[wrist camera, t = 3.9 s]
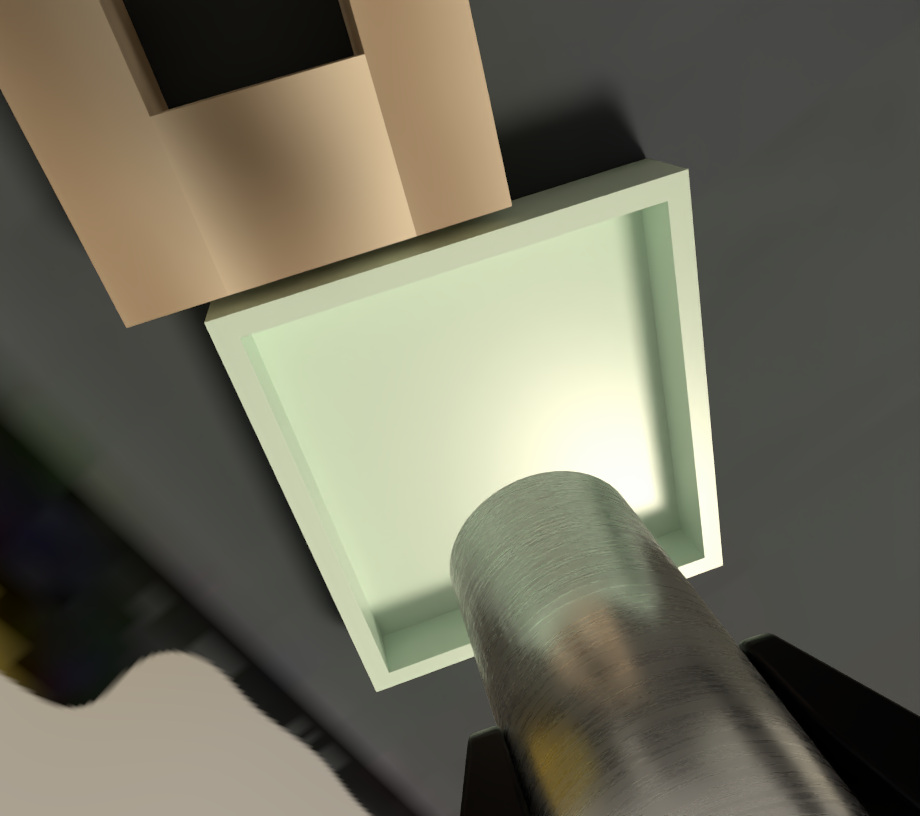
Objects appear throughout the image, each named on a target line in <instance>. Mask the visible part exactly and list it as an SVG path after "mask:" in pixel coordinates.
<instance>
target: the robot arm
mask: <svg viewBox="0 0 920 816" xmlns="http://www.w3.org/2000/svg"><path fill="white" fill-rule="evenodd" d="M739 647H740V649H741V650H742V651H743V653H744V654H745V655H746V656H747V658H748V659H749V660H750V662H751V663H752V664H753V666H754V667H755V668H756V669H757V671H758V672H759V673H760V675H761V676H762V677H763V678H764V680H765V681H766V682H767V684H768V685H769V686H770V687H771V689H772V690H773V691H774V693H775V694H776V695H777V696H778V698H779V699H780V700H781V702H782V703H783V704H784V706H785V707H786V708H787V709H788V711H789V712H790V713H791V715H792V716H793V717H794V718H795V720H796V721H797V722H798V724H799V725H800V726H801V727H802V729H803V730H804V731H805V733H806V734H807V735H808V737H809V738H810V739H811V740H812V742H813V743H814V744H815V746H816V747H817V748H818V749H819V751H820V752H821V753H822V755H823V756H824V757H825V758H826V760H827V761H828V762H829V764H830V765H831V766H832V767H833V769H834V770H835V771H836V773H837V774H838V775H839V777H840V778H841V779H842V780H843V782H844V783H845V784H846V786H847V787H848V788H849V789H850V791H851V792H852V793H853V795H854V796H855V797H856V798H857V800H858V801H859V802H860V804H861V805H862V806H863V808H864V809H865V810H866V811H867V813H868V814H869V815H870V816H920V716H918V715H916V714H915V713H913V712H911V711H909V710H908V709H906V708H904V707H902V706H900V705H899V704H897V703H895V702H893V701H891V700H890V699H888V698H886V697H884V696H883V695H881V694H879V693H877V692H875V691H874V690H872V689H870V688H868V687H866V686H865V685H863V684H861V683H859V682H858V681H856V680H854V679H852V678H850V677H849V676H847V675H845V674H843V673H841V672H840V671H838V670H836V669H834V668H833V667H831V666H829V665H827V664H825V663H824V662H822V661H820V660H818V659H817V658H815V657H813V656H811V655H809V654H808V653H806V652H804V651H802V650H800V649H799V648H797V647H795V646H793V645H792V644H790V643H788V642H786V641H784V640H783V639H781V638H779V637H777V636H775V635H773V634H769V633H763V634H760V635H757V636H754V637H751V638H748V639H746V640H743V641H741V642H740V644H739ZM460 816H530V814H529V811H528V807H527V804H526V801H525V798H524V795H523V792H522V789H521V786H520V783H519V780H518V777H517V774H516V771H515V768H514V765H513V762H512V759H511V756H510V753H509V750H508V747H507V744H506V741H505V738H504V735H503V732H502V730H501V728H500V727H498V726H493V727H490V728H487V729H484V730H481V731H479V732H476V733H473V734H472V735H471V736H470V738H469V740H468V746H467V755H466V765H465V774H464V783H463V792H462V801H461V810H460Z"/></svg>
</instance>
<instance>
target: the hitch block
mask: <svg viewBox="0 0 920 816" xmlns="http://www.w3.org/2000/svg"><path fill="white" fill-rule="evenodd" d="M338 1H339V5H340V8H341V12H342V15H343V18H344V22H345V25H346V29H347V32H348V36H349V39H350V42H351V46H352V49H353V53H354V55H353V56H350V57H346V58H343V59H339V60H336V61H333V62H329V63H326V64H322V65H319V66H315V67H312V68H309V69H305V70H302V71H298V72H295V73H291V74H288V75H285V76H281V77H278V78H274V79H271V80H267V81H264V82H261V83H257V84H254V85H250V86H247V87H243V88H240V89H237V90H233V91H230V92H226V93H223V94H220V95H216V96H213V97H209V98H206V99H202V100H199V101H196V102H192V103H189V104H185V105H182V106H178V107H175V108H172V109H168V106H167V104H166V102H165V99H164V97H163V95H162V92H161V90H160V88H159V85H158V83H157V80H156V78H155V76H154V73H153V71H152V69H151V66H150V64H149V62H148V59H147V57H146V55H145V52H144V50H143V48H142V45H141V43H140V40H139V38H138V36H137V33H136V31H135V29H134V26H133V24H132V22H131V19H130V17H129V15H128V12H127V10H126V7H125V5H124V3H123V0H0V89H1V91H2V93H3V95H4V97H5V99H6V100H7V102H8V104H9V106H10V108H11V110H12V112H13V114H14V116H15V118H16V119H17V121H18V123H19V125H20V127H21V129H22V131H23V133H24V135H25V136H26V138H27V140H28V142H29V144H30V146H31V148H32V150H33V152H34V154H35V155H36V157H37V159H38V161H39V163H40V165H41V167H42V169H43V171H44V172H45V174H46V176H47V178H48V180H49V182H50V184H51V186H52V188H53V189H54V191H55V193H56V195H57V197H58V199H59V201H60V203H61V205H62V207H63V208H64V210H65V212H66V214H67V216H68V218H69V220H70V222H71V224H72V225H73V227H74V229H75V231H76V233H77V235H78V237H79V239H80V241H81V243H82V244H83V246H84V248H85V250H86V252H87V254H88V256H89V258H90V260H91V261H92V263H93V265H94V267H95V269H96V271H97V273H98V275H99V277H100V279H101V280H102V282H103V284H104V286H105V288H106V290H107V292H108V294H109V296H110V297H111V299H112V301H113V303H114V305H115V307H116V309H117V311H118V313H119V315H120V316H121V318H122V320H123V322H124V324H125V326H126V328H128V327H131V326H134V325H137V324H140V323H143V322H147V321H150V320H153V319H156V318H159V317H162V316H166V315H169V314H172V313H175V312H178V311H181V310H185V309H188V308H191V307H194V306H197V305H200V304H204V303H207V302H210V301H213V300H216V299H219V298H223V297H226V296H229V295H232V294H235V293H239V292H242V291H245V290H248V289H251V288H254V287H258V286H261V285H264V284H267V283H270V282H273V281H277V280H280V279H283V278H286V277H289V276H292V275H296V274H299V273H302V272H305V271H308V270H311V269H315V268H318V267H321V266H324V265H327V264H330V263H334V262H337V261H340V260H343V259H346V258H350V257H353V256H356V255H359V254H362V253H365V252H369V251H372V250H375V249H378V248H381V247H384V246H388V245H391V244H394V243H397V242H400V241H403V240H407V239H410V238H413V237H416V236H419V235H422V234H426V233H429V232H432V231H435V230H438V229H441V228H445V227H448V226H451V225H454V224H457V223H461V222H464V221H467V220H470V219H473V218H476V217H480V216H483V215H486V214H489V213H492V212H495V211H499V210H502V209H505V208H508V207H511V206H512V203H511V198H510V193H509V189H508V184H507V179H506V175H505V170H504V165H503V161H502V156H501V151H500V146H499V142H498V137H497V132H496V128H495V123H494V118H493V114H492V109H491V104H490V99H489V95H488V90H487V85H486V81H485V76H484V71H483V67H482V62H481V57H480V53H479V48H478V43H477V38H476V34H475V29H474V24H473V20H472V15H471V10H470V6H469V1H468V0H338Z"/></svg>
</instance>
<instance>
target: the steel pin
mask: <svg viewBox="0 0 920 816" xmlns="http://www.w3.org/2000/svg"><path fill="white" fill-rule="evenodd" d="M450 577H451V582H452V586H453V589H454V593H455V596H456V599H457V602H458V605H459V608H460V611H461V615H462V618H463V621H464V624H465V627H466V630H467V634H468V637H469V640H470V643H471V646H472V649H473V652H474V656H475V659H476V662H477V665H478V668H479V671H480V674H481V678H482V681H483V684H484V687H485V690H486V693H487V697H488V700H489V703H490V706H491V709H492V712H493V715H494V719H495V722H496V725H497V726H498V727H500V728H501V730H502V732H503V735H504V738H505V741H506V744H507V747H508V750H509V753H510V756H511V759H512V762H513V765H514V768H515V771H516V774H517V777H518V780H519V783H520V786H521V789H522V792H523V795H524V798H525V801H526V804H527V807H528V811H529V814H530V816H870V815H869V814H868V813H867V811H866V810H865V809H864V808H863V806H862V805H861V804H860V802H859V801H858V800H857V798H856V797H855V796H854V795H853V793H852V792H851V791H850V789H849V788H848V787H847V786H846V784H845V783H844V782H843V780H842V779H841V778H840V777H839V775H838V774H837V773H836V771H835V770H834V769H833V767H832V766H831V765H830V764H829V762H828V761H827V760H826V758H825V757H824V756H823V755H822V753H821V752H820V751H819V749H818V748H817V747H816V746H815V744H814V743H813V742H812V740H811V739H810V738H809V737H808V735H807V734H806V733H805V731H804V730H803V729H802V727H801V726H800V725H799V724H798V722H797V721H796V720H795V718H794V717H793V716H792V715H791V713H790V712H789V711H788V709H787V708H786V707H785V706H784V704H783V703H782V702H781V700H780V699H779V698H778V696H777V695H776V694H775V693H774V691H773V690H772V689H771V687H770V686H769V685H768V684H767V682H766V681H765V680H764V678H763V677H762V676H761V675H760V673H759V672H758V671H757V669H756V668H755V667H754V666H753V664H752V663H751V662H750V660H749V659H748V658H747V656H746V655H745V654H744V653H743V651H742V650H741V649H740V647H739V646H738V645H737V644H736V642H735V641H734V640H733V638H732V637H731V636H730V635H729V633H728V632H727V631H726V629H725V628H724V627H723V626H722V624H721V623H720V622H719V620H718V619H717V618H716V616H715V615H714V614H713V613H712V611H711V610H710V609H709V607H708V606H707V605H706V604H705V602H704V601H703V600H702V598H701V597H700V596H699V595H698V593H697V592H696V591H695V589H694V588H693V587H692V585H691V584H690V583H689V582H688V580H687V579H686V578H685V576H684V575H683V574H682V573H681V571H680V570H679V569H678V567H677V566H676V565H675V564H674V562H673V561H672V560H671V558H670V557H669V556H668V555H667V553H666V552H665V551H664V549H663V548H662V547H661V545H660V544H659V543H658V542H657V540H656V539H655V538H654V536H653V535H652V534H651V533H650V531H649V530H648V529H647V527H646V526H645V525H644V524H643V522H642V521H641V520H640V518H639V517H638V516H637V514H636V513H635V512H634V511H633V509H632V508H631V507H630V505H629V504H628V503H627V502H626V500H625V499H624V498H623V497H622V495H621V494H620V493H619V492H618V491H617V490H616V489H615V488H614V487H612V486H611V485H610V484H608V483H607V482H605V481H603V480H602V479H599V478H597V477H594V476H592V475H589V474H585V473H581V472H573V471H552V472H544V473H539V474H535V475H531V476H528V477H525V478H522V479H520V480H517V481H515V482H513V483H511V484H509V485H507V486H505V487H503V488H502V489H500V490H498V491H497V492H495V493H494V494H492V495H491V496H490V497H488V498H487V499H486V500H485V501H483V502H482V503H481V504H480V505H479V506H478V507H477V508H476V509H475V510H474V511H473V512H472V514H471V515H470V516H469V517H468V519H467V520H466V521H465V523H464V524H463V526H462V528H461V529H460V531H459V533H458V535H457V537H456V540H455V542H454V545H453V548H452V552H451V558H450Z"/></svg>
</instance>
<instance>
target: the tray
mask: <svg viewBox="0 0 920 816" xmlns="http://www.w3.org/2000/svg"><path fill="white" fill-rule="evenodd" d="M511 203H512V206H511V207H508V208H505V209H502V210H499V211H495V212H492V213H489V214H486V215H483V216H480V217H476V218H473V219H470V220H467V221H464V222H461V223H457V224H454V225H451V226H448V227H445V228H441V229H438V230H435V231H432V232H429V233H426V234H422V235H419V236H416V237H413V238H410V239H407V240H403V241H400V242H397V243H394V244H391V245H388V246H384V247H381V248H378V249H375V250H372V251H369V252H365V253H362V254H359V255H356V256H353V257H350V258H346V259H343V260H340V261H337V262H334V263H330V264H327V265H324V266H321V267H318V268H315V269H311V270H308V271H305V272H302V273H299V274H296V275H292V276H289V277H286V278H283V279H280V280H277V281H273V282H270V283H267V284H264V285H261V286H258V287H254V288H251V289H248V290H245V291H242V292H239V293H235V294H232V295H229V296H226V297H223V298H219V299H216V300H213V301H211V303H210V306H209V309H208V312H207V315H206V318H205V322H204V323H205V326H206V328H207V330H208V332H209V334H210V336H211V338H212V341H213V343H214V345H215V347H216V349H217V351H218V353H219V356H220V358H221V360H222V362H223V364H224V366H225V368H226V371H227V373H228V375H229V377H230V379H231V381H232V383H233V386H234V388H235V390H236V392H237V394H238V396H239V398H240V401H241V403H242V405H243V407H244V409H245V411H246V413H247V416H248V418H249V420H250V422H251V424H252V426H253V428H254V431H255V433H256V435H257V437H258V439H259V441H260V443H261V446H262V448H263V450H264V452H265V454H266V456H267V458H268V461H269V463H270V465H271V467H272V469H273V471H274V473H275V476H276V478H277V480H278V482H279V484H280V486H281V488H282V491H283V493H284V495H285V497H286V499H287V501H288V503H289V506H290V508H291V510H292V512H293V514H294V516H295V518H296V521H297V523H298V525H299V527H300V529H301V531H302V533H303V536H304V538H305V540H306V542H307V544H308V546H309V548H310V551H311V553H312V555H313V557H314V559H315V561H316V563H317V566H318V568H319V570H320V572H321V574H322V576H323V578H324V581H325V583H326V585H327V587H328V589H329V591H330V593H331V596H332V598H333V600H334V602H335V604H336V606H337V608H338V611H339V613H340V615H341V617H342V619H343V621H344V623H345V626H346V628H347V630H348V632H349V634H350V636H351V638H352V641H353V643H354V645H355V647H356V649H357V651H358V653H359V656H360V658H361V660H362V662H363V664H364V666H365V668H366V671H367V673H368V675H369V677H370V679H371V681H372V683H373V686H374V688H375V690H376V692H378V691H381V690H384V689H386V688H389V687H392V686H395V685H397V684H400V683H403V682H405V681H408V680H411V679H414V678H416V677H419V676H422V675H425V674H427V673H430V672H433V671H435V670H438V669H441V668H444V667H446V666H449V665H452V664H455V663H457V662H460V661H463V660H465V659H468V658H471V657H474V652H473V649H472V646H471V643H470V640H469V637H468V634H467V630H466V627H465V624H464V621H463V618H462V615H461V611H460V608H459V605H458V602H457V599H456V596H455V593H454V589H453V586H452V582H451V577H450V558H451V552H452V548H453V545H454V542H455V540H456V537H457V535H458V533H459V531H460V529H461V528H462V526H463V524H464V523H465V521H466V520H467V519H468V517H469V516H470V515H471V514H472V512H473V511H474V510H475V509H476V508H477V507H478V506H479V505H480V504H481V503H482V502H483V501H485V500H486V499H487V498H488V497H490V496H491V495H492V494H494V493H495V492H497V491H498V490H500V489H502V488H503V487H505V486H507V485H509V484H511V483H513V482H515V481H517V480H520V479H522V478H525V477H528V476H531V475H535V474H539V473H544V472H552V471H573V472H581V473H585V474H589V475H592V476H594V477H597V478H599V479H602V480H603V481H605V482H607V483H608V484H610V485H611V486H612V487H614V488H615V489H616V490H617V491H618V492H619V493H620V494H621V495H622V497H623V498H624V499H625V500H626V502H627V503H628V504H629V505H630V507H631V508H632V509H633V511H634V512H635V513H636V514H637V516H638V517H639V518H640V520H641V521H642V522H643V524H644V525H645V526H646V527H647V529H648V530H649V531H650V533H651V534H652V535H653V536H654V538H655V539H656V540H657V542H658V543H659V544H660V545H661V547H662V548H663V549H664V551H665V552H666V553H667V555H668V556H669V557H670V558H671V560H672V561H673V562H674V564H675V565H676V566H677V567H678V569H679V570H680V571H681V573H682V574H683V575H684V576H685V578H689V577H692V576H695V575H697V574H700V573H703V572H705V571H708V570H711V569H714V568H716V567H719V566H722V565H723V561H722V550H721V538H720V527H719V515H718V504H717V493H716V481H715V470H714V458H713V447H712V435H711V424H710V413H709V401H708V390H707V378H706V367H705V355H704V344H703V333H702V321H701V310H700V298H699V287H698V275H697V264H696V253H695V241H694V230H693V218H692V207H691V195H690V184H689V173H688V169H686V168H682V167H679V166H675V165H671V164H667V163H664V162H660V161H656V160H652V159H648V158H646V159H643V160H639V161H636V162H633V163H630V164H627V165H623V166H620V167H617V168H614V169H611V170H608V171H604V172H601V173H598V174H595V175H592V176H588V177H585V178H582V179H579V180H576V181H573V182H569V183H566V184H563V185H560V186H557V187H554V188H550V189H547V190H544V191H541V192H538V193H534V194H531V195H528V196H525V197H522V198H519V199H515V200H512V201H511Z"/></svg>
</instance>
